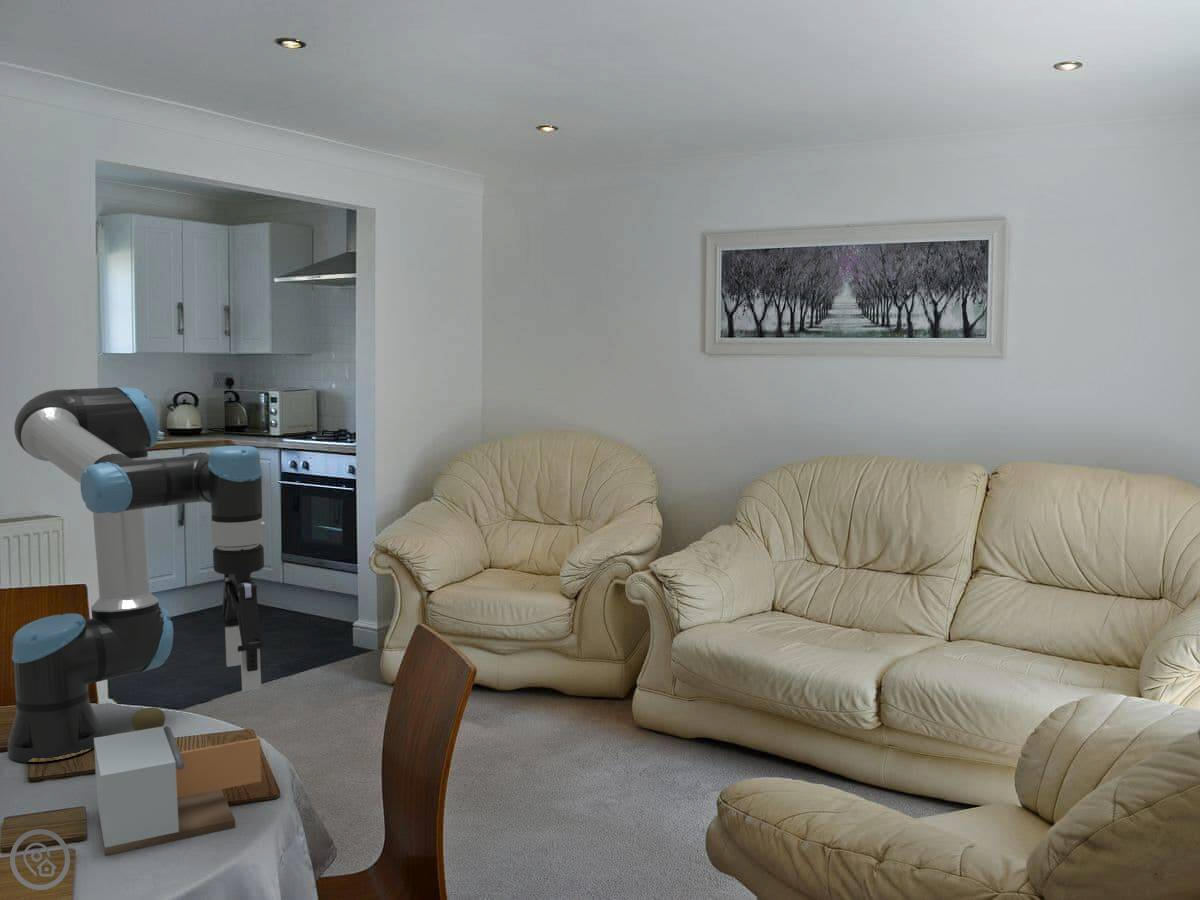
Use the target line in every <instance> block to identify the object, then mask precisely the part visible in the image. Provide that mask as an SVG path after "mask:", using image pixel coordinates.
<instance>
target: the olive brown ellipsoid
mask: <svg viewBox="0 0 1200 900" xmlns="http://www.w3.org/2000/svg"><path fill="white" fill-rule="evenodd" d="M165 721H166V715H165V713H164V711H163V710H162V709H161V708H157V707H147V708H142V709H139V710H137V711H136V712H135V713H134V714H133V716H132V718H131V726H132V728H133V730H134V731H138V730H144V729H150V728H156V727H162V726H163V727H164V725H165Z"/></svg>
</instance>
